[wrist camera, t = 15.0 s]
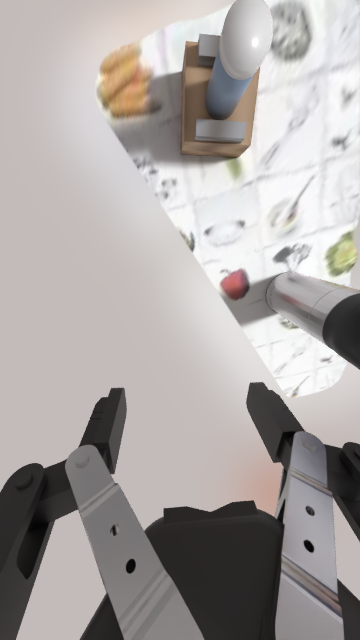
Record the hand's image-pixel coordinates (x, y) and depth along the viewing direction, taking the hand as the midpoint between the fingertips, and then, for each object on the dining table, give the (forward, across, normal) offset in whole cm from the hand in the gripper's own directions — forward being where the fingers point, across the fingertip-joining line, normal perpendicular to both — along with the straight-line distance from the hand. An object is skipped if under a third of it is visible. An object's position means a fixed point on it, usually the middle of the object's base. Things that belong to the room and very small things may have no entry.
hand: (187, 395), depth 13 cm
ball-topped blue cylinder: (+27, -7, -27) cm, 39 cm away
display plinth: (+32, -7, -27) cm, 42 cm away
